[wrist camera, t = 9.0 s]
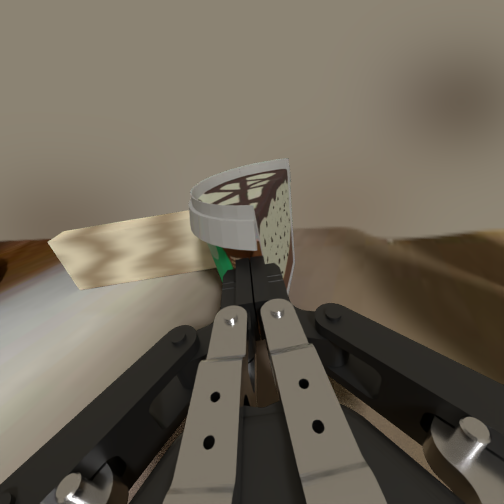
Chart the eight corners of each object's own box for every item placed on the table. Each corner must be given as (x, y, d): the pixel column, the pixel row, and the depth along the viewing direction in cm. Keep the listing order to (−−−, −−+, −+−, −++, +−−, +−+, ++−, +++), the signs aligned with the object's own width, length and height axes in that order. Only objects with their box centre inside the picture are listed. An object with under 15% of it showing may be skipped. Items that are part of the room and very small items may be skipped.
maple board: (79, 290, 26) (47, 242, 23) (91, 276, 28) (63, 231, 25) (278, 257, 25) (273, 204, 22) (275, 246, 27) (269, 196, 24)
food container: (242, 255, 27) (223, 164, 22) (296, 255, 25) (289, 156, 20) (191, 345, 17) (135, 216, 12) (274, 357, 15) (249, 209, 10)
